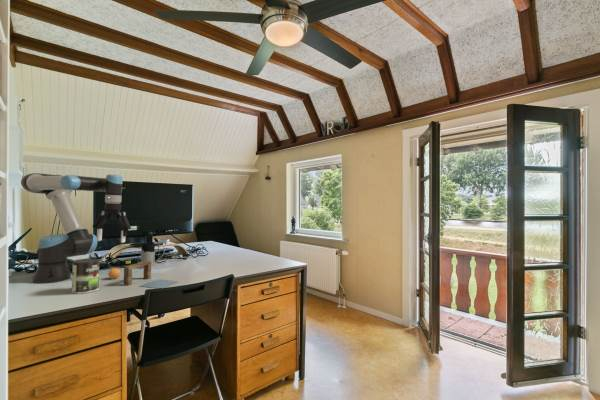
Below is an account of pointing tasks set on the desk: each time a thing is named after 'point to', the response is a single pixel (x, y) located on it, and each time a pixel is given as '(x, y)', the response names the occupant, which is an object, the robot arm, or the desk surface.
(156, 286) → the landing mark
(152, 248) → the glass holder
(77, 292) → the coffee can
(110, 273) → the ball
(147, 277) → the bridge
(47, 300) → the desk surface
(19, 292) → the desk surface
